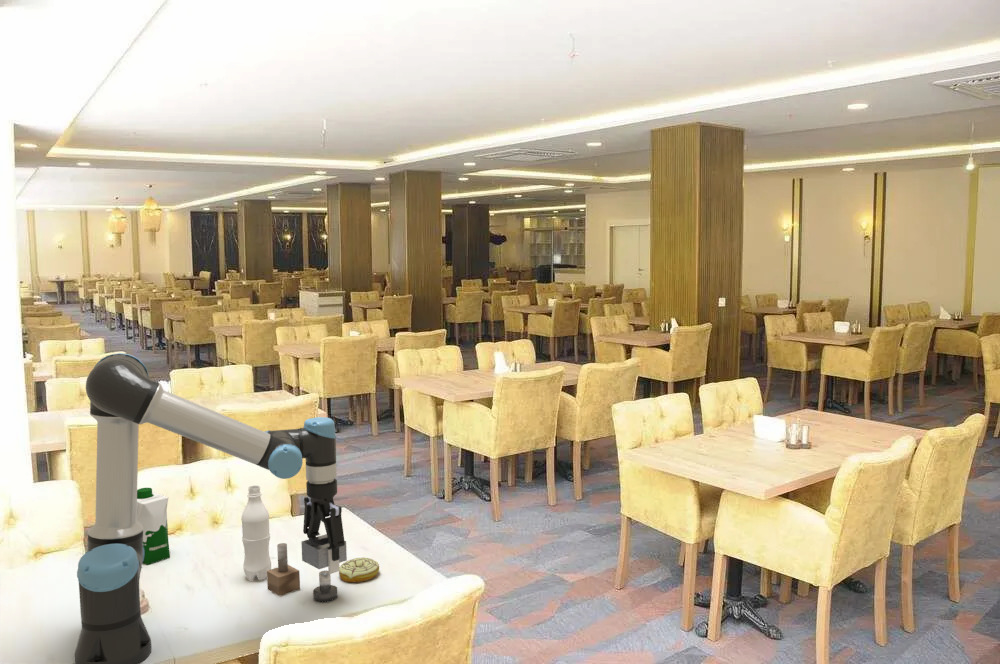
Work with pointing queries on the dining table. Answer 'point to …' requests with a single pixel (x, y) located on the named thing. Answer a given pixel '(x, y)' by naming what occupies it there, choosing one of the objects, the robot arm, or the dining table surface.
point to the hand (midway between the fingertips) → (324, 567)
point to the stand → (283, 574)
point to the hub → (325, 589)
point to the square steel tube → (319, 552)
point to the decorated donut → (359, 570)
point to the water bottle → (256, 536)
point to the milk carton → (153, 525)
